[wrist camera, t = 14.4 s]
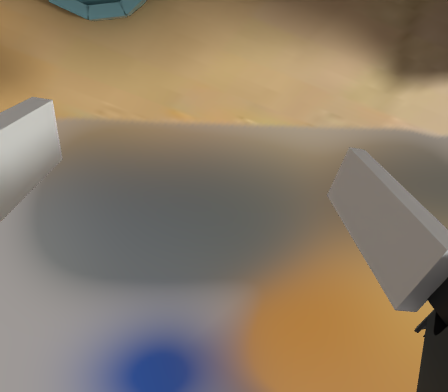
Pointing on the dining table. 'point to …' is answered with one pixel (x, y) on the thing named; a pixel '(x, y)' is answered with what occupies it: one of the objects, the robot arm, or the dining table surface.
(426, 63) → the dining table surface
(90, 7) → the bowl
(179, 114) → the dining table surface
